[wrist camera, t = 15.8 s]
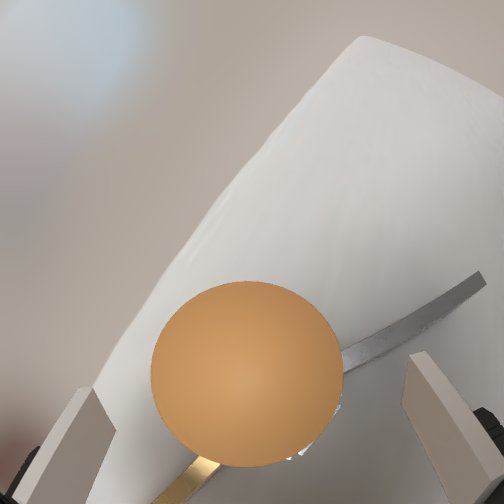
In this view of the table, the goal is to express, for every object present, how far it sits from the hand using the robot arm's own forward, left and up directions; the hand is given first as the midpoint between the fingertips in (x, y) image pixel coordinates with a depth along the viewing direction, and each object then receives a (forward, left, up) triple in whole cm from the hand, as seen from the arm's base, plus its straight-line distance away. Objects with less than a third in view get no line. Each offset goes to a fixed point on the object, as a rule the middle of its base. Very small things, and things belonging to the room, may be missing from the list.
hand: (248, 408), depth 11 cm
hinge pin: (0, -1, -11) cm, 11 cm away
